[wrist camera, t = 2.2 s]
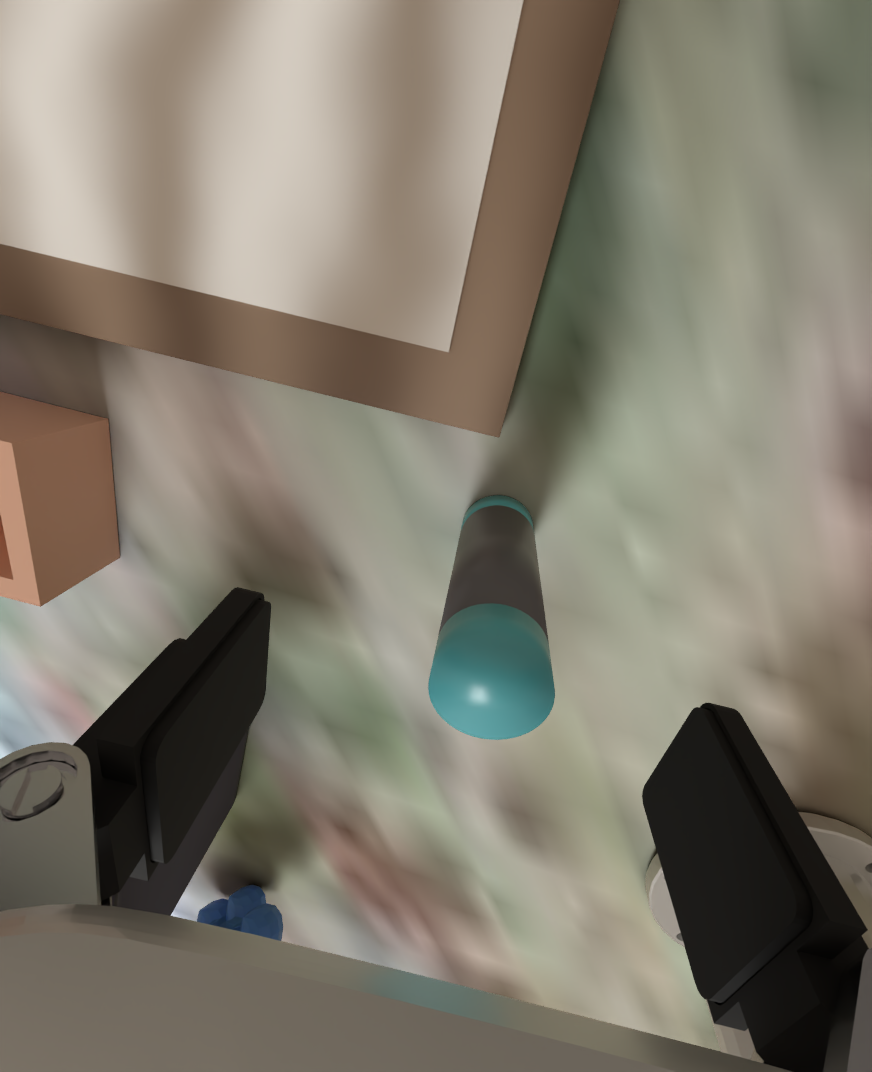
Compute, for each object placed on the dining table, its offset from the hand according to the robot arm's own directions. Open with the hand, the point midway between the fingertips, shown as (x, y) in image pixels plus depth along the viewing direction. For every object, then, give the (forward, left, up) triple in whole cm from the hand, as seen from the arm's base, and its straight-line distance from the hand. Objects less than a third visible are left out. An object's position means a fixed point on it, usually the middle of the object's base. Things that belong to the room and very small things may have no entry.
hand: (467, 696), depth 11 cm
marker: (-1, +1, -11) cm, 11 cm away
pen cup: (+20, +4, -11) cm, 23 cm away
